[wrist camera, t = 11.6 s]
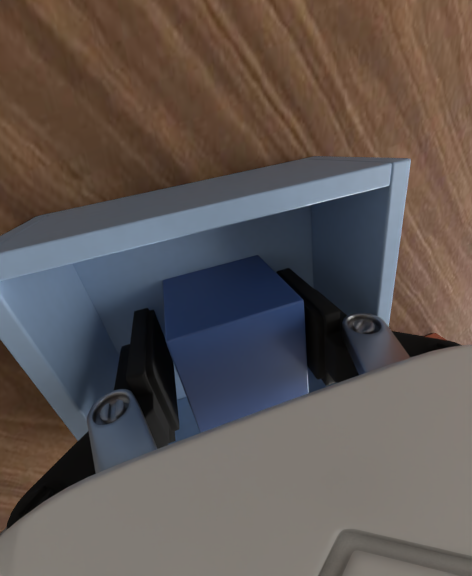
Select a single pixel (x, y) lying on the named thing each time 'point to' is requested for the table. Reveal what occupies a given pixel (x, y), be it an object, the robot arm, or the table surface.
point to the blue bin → (190, 263)
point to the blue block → (235, 339)
